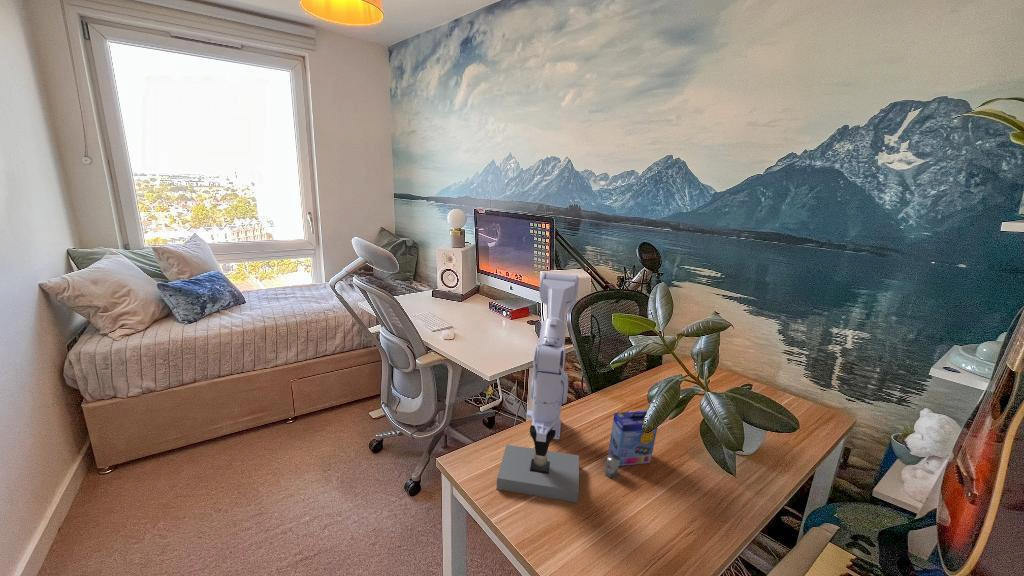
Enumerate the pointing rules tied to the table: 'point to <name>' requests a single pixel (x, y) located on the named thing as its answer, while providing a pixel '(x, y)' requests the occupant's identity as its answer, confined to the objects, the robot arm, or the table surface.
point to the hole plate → (539, 474)
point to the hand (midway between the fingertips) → (541, 449)
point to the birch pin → (540, 459)
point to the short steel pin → (612, 466)
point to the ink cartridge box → (631, 438)
